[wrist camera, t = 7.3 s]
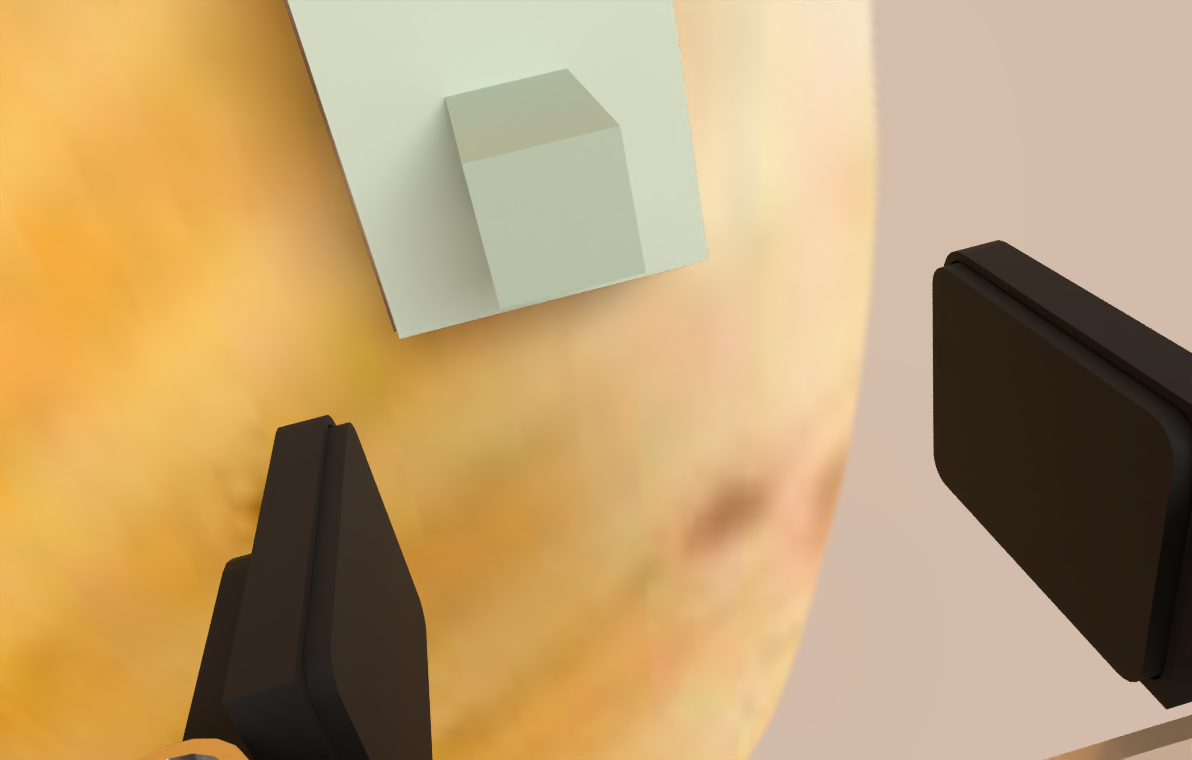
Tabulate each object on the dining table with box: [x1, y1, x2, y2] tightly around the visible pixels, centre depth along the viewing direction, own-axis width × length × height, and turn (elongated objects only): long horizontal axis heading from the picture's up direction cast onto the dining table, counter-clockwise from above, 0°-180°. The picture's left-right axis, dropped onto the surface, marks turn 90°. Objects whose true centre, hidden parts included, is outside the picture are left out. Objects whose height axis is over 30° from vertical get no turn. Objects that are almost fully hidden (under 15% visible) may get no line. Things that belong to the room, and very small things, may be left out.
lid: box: [288, 0, 708, 339], centre depth 20 cm, size 14×9×7 cm, turn 11°
